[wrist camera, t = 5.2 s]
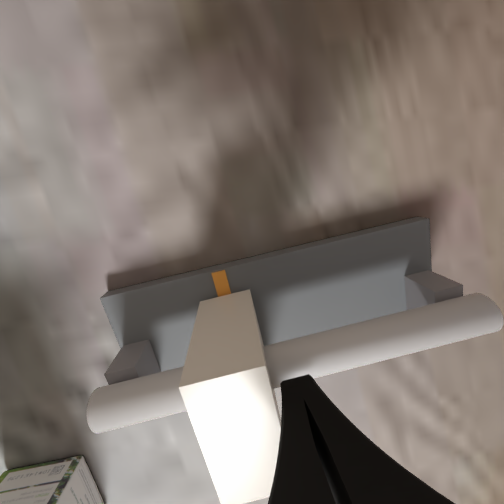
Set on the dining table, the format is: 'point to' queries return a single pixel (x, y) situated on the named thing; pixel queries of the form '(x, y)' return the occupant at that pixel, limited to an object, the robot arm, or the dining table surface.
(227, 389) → the collar
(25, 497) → the syrup box
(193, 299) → the pipe stand
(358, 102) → the dining table surface
